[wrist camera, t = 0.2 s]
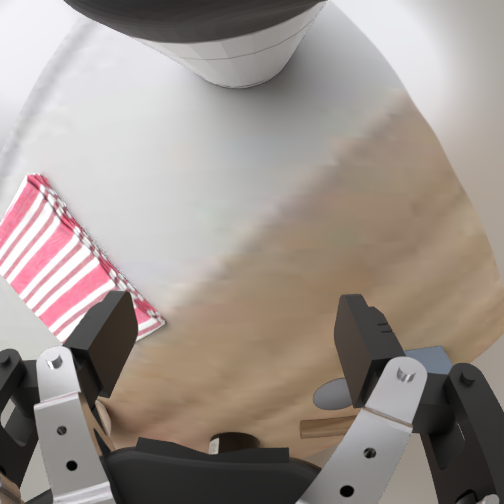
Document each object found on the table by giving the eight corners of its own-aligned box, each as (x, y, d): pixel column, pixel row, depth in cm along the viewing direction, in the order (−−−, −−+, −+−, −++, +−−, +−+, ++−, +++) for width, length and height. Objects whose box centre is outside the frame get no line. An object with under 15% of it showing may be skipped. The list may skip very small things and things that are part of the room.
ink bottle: (203, 430, 44) (195, 490, 34) (253, 428, 44) (252, 490, 33) (218, 452, 49) (213, 504, 38) (263, 450, 48) (263, 504, 37)
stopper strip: (300, 420, 42) (302, 433, 40) (359, 415, 42) (362, 427, 40) (299, 426, 43) (300, 438, 41) (356, 421, 43) (359, 432, 41)
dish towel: (42, 163, 26) (23, 170, 22) (170, 317, 34) (163, 337, 31) (-8, 244, 30) (-23, 255, 27) (94, 360, 38) (86, 377, 35)
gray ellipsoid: (317, 379, 38) (317, 380, 37) (371, 375, 37) (372, 376, 37) (309, 410, 41) (309, 411, 41) (358, 406, 41) (358, 407, 41)
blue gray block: (403, 351, 35) (425, 399, 28) (441, 345, 35) (466, 389, 27) (388, 382, 38) (405, 428, 31) (425, 376, 38) (444, 418, 30)
